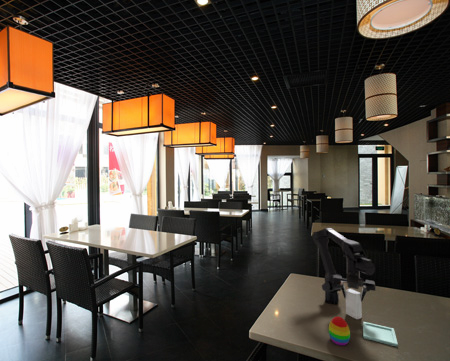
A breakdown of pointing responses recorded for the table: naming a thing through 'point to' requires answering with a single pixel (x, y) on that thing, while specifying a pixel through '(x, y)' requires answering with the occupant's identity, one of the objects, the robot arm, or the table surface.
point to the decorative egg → (339, 331)
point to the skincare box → (353, 303)
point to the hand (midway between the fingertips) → (353, 299)
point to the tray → (379, 334)
